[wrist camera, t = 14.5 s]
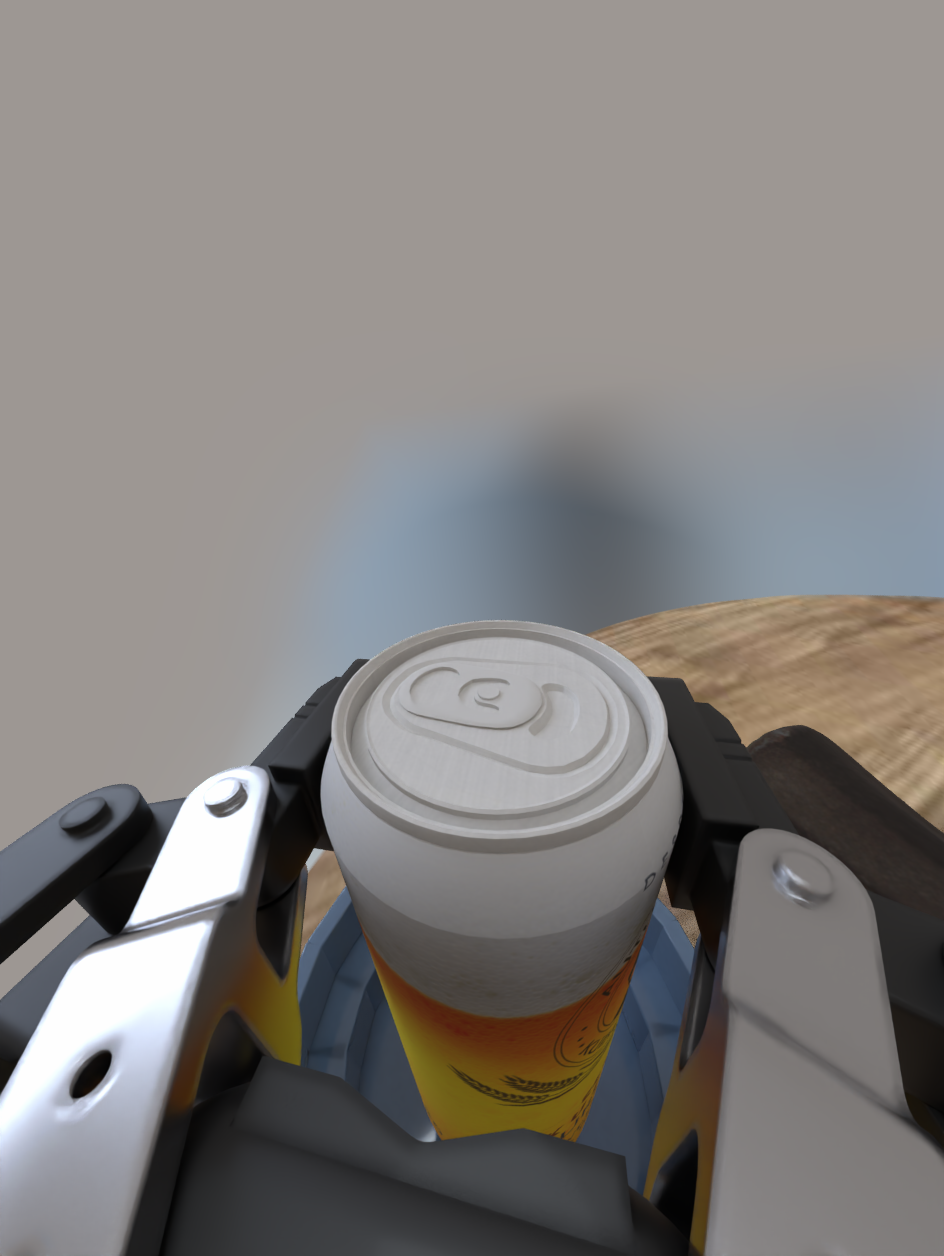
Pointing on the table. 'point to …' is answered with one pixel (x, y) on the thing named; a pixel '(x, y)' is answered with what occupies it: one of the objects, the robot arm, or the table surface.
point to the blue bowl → (380, 1071)
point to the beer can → (503, 858)
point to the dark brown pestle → (854, 817)
